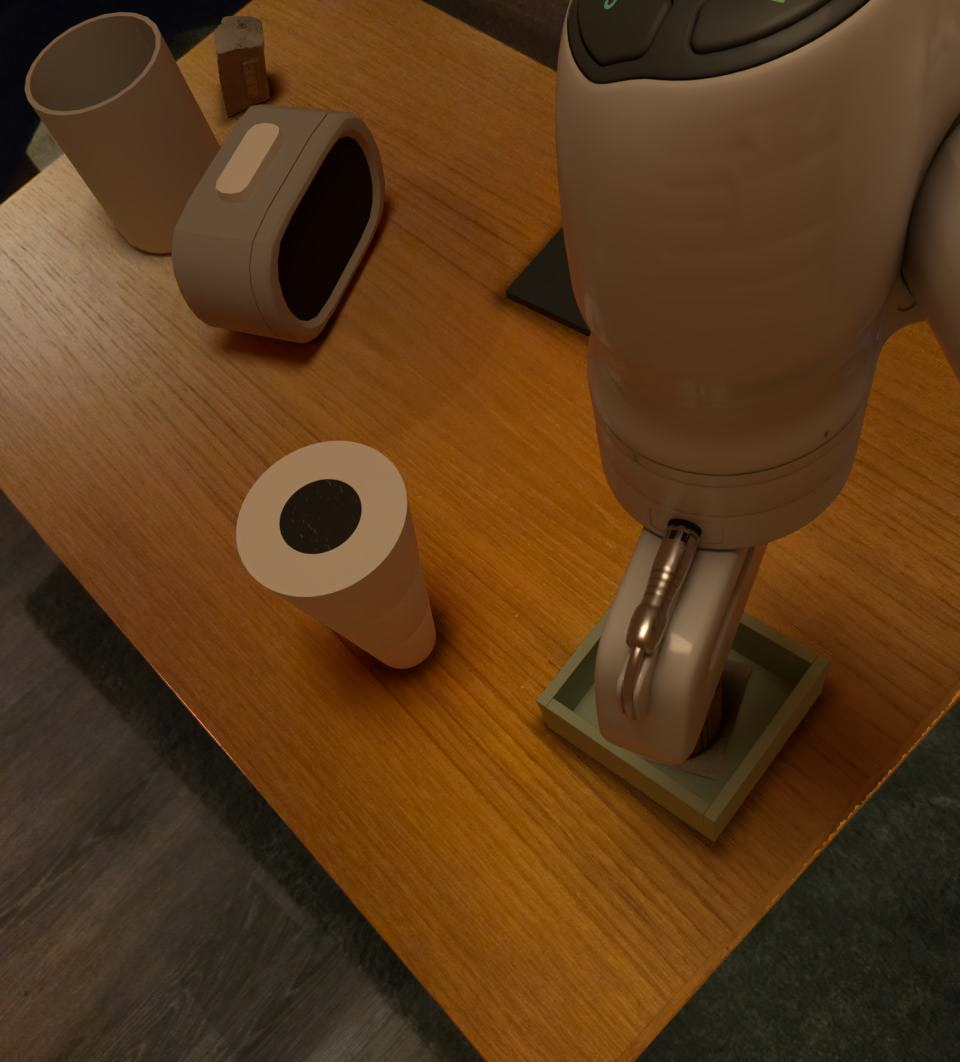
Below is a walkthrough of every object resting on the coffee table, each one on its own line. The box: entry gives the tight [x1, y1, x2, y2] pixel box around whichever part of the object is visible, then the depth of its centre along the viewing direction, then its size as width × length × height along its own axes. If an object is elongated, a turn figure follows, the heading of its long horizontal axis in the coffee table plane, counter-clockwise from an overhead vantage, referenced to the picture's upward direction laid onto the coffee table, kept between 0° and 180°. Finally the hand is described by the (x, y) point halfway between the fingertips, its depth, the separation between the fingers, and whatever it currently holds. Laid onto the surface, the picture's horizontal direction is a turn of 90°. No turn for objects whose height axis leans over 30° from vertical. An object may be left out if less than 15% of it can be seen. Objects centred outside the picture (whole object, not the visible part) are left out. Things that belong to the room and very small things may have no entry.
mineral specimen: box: [213, 15, 271, 117], centre depth 101 cm, size 7×9×8 cm
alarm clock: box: [171, 103, 386, 344], centre depth 86 cm, size 21×10×13 cm, turn 158°
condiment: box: [635, 659, 752, 780], centre depth 61 cm, size 7×8×12 cm
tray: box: [536, 604, 831, 843], centre depth 65 cm, size 14×13×5 cm
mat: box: [505, 226, 591, 337], centre depth 83 cm, size 18×14×1 cm
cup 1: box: [24, 11, 221, 255], centre depth 94 cm, size 13×18×16 cm
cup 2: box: [235, 440, 437, 670], centre depth 66 cm, size 11×11×18 cm
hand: (720, 595), depth 46 cm, fingers open, 8 cm apart
